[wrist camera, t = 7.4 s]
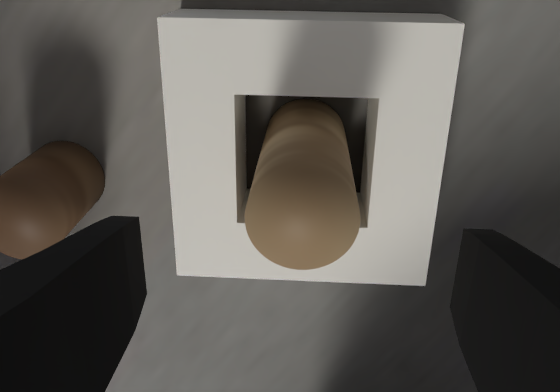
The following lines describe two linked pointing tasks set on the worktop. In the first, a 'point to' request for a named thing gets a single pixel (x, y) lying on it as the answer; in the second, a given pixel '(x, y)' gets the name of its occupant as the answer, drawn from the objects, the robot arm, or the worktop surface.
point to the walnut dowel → (47, 197)
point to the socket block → (313, 83)
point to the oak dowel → (303, 189)
